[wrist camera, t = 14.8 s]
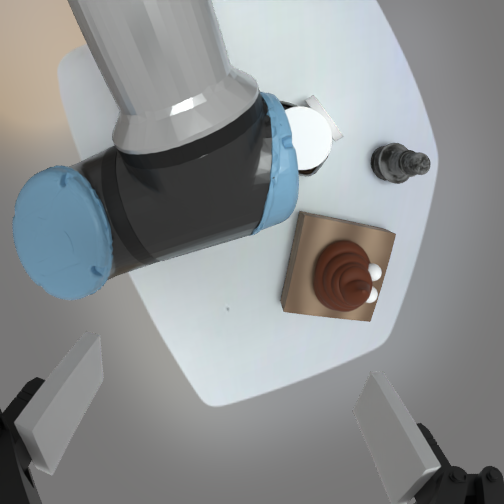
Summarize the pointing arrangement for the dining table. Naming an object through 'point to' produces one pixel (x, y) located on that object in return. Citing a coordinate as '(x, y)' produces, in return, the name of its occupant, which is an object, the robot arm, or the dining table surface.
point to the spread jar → (311, 134)
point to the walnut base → (310, 248)
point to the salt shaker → (398, 163)
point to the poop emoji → (345, 277)
